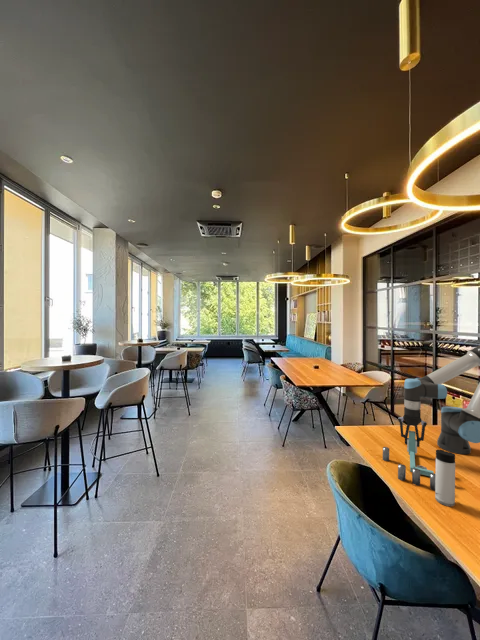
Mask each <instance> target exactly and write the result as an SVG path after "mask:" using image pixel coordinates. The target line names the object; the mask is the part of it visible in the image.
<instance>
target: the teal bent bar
mask: <svg viewBox="0 0 480 640" xmlns="http://www.w3.org/2000/svg"><path fill="white" fill-rule="evenodd" d="M408 438H409V452H408V455H409V468H410V469H409V471H410V473H412V468H417V469H419V470H420V475H423V476H426V477H430V473H434V470H431V469H428V468H427V469H422V468H418V467H417V466H416V459H415V457H416V453H415V439H416V431H415V430H414V431H413V430H409V432H408Z"/></svg>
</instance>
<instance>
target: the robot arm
mask: <svg viewBox="0 0 480 640" xmlns="http://www.w3.org/2000/svg"><path fill="white" fill-rule="evenodd" d="M477 366H478V367H480V344H479V345H477V346H475V347H474V348H472V349H470V350H468V351H467V352H466V354H465V355H463V356H461V357H459V358H457V359H455V360H453V361H451V362H449V363H447V364H446V365H444V366H442V367H440V368H438V369H435V371H433V372H431V373H428V374H427V375H425V376H422V377H416V378H406V379H405V380H404V384H403V390H404V393H403V394H404V398H403V399H404V400H403V401H404V402H403V403H404V405H403V406H404V408H403V409H404V410H403V416H402V417H400V416H399V417H398V419H397V420H398V422H399V427H400V431H399V432H400V436H401V438H404V445H406V451H407V452H408V453H409V431H410V427H411V426H413V427H414V431H415V433H416V435H415V455H416V454H418V448H420V444H421V443H420V442H424V441H425V439H424V438H425V430H426V427H427V424H428V422H427V421H424V420H422V418H421V408H422V407H421V402H422V401H421V399H424V398H425V399H437V400H440V399H441V400H442V399H443V400H444V399H446V398H447V396H448V389H447V387H446V386H445V385H444V384H445V383H446V382H448V381H451V380H452V379H455V377H458V376H460V375H462V374H464V373H465V372H468V371H470V370H472V369H473V368H475V367H477ZM404 421H405V423H406V427H405V433H404V426H403V425H404V424H403V422H404ZM420 423H421V431H420V435H419V429H418V427H419V426H418V425H419V424H420ZM470 443H472V444H479V443H480V381H479V383H478V385H477V386H476V388H475V390H474V392H473V395H472V396H471V399H470V401H469V403H468V405H467V406H466V408H464V407H463V408H462V407H459V406H458V407H456V406H442V407H441V411H440V434H439V435H438V438H437V441H436V444H437V446H438V447H439V448H440V449H441V450H444V451H446V452H451V453H453V454H458V455H459V454H460V455H469V454H471V452H472V449H471V444H470Z"/></svg>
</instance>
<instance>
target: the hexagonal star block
mask: <svg viewBox="0 0 480 640" xmlns="http://www.w3.org/2000/svg"><path fill="white" fill-rule="evenodd" d="M416 467H418V468H422V469H427V470H428V468H427V467H425V466H424V465H416Z"/></svg>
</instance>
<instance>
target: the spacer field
mask: <svg viewBox="0 0 480 640" xmlns="http://www.w3.org/2000/svg"><path fill="white" fill-rule="evenodd" d="M382 461H384V462H389V461H390V447H387V446H383V447H382ZM406 468H407V467H406V465H404V464H402V463H399V464H397V479H398V480H399V481H402V482H406V479H407V477H406V475H407V473H406V472H407V469H406ZM411 475H412V477H411V483H412V484H413V485H415V486H417V487H418V486H420V485H421V474H420V470H419V469H417V468H412V472H411ZM435 475H436V472H435V473H434V472H433V473H430V476H429V489H430V490H432V491H433V492H435Z"/></svg>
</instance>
